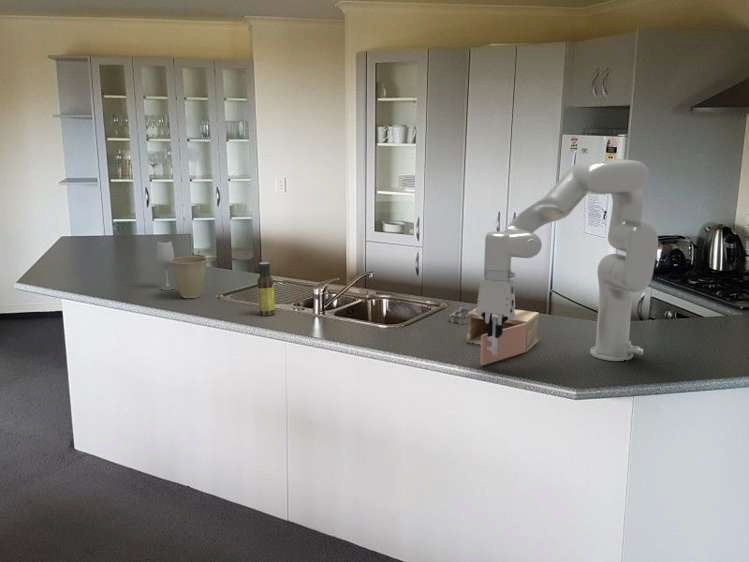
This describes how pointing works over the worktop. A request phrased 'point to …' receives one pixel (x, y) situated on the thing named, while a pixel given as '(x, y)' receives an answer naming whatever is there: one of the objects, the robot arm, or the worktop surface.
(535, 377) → the worktop surface
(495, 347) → the door
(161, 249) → the wineglass
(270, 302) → the sauce bottle
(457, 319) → the egg carton
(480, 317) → the cabinet
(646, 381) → the worktop surface
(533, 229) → the robot arm
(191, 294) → the plant pot
